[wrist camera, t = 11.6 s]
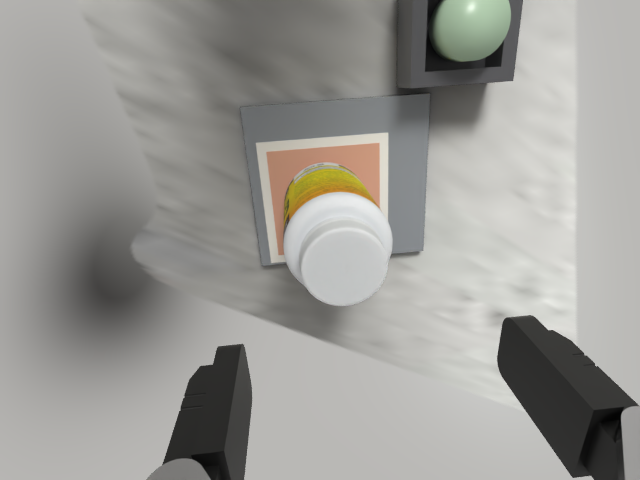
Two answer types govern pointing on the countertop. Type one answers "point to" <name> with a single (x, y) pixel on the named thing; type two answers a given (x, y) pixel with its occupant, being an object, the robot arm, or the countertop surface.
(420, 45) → the button housing
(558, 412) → the robot arm
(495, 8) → the button
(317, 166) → the supplement bottle
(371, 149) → the picture board
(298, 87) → the countertop surface
